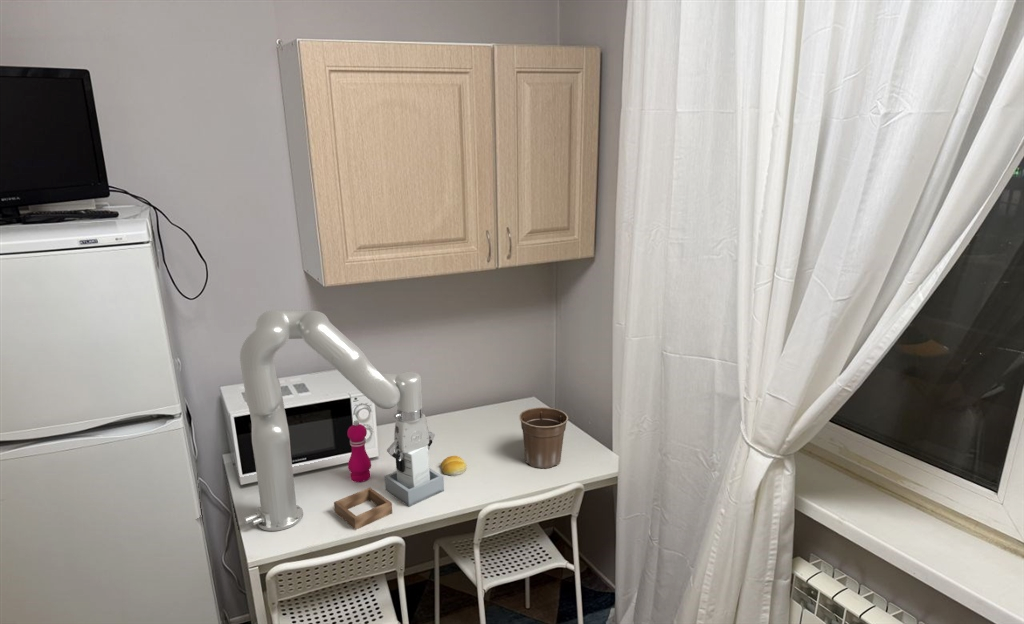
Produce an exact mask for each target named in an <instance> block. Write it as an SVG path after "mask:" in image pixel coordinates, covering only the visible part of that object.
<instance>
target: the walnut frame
mask: <svg viewBox="0 0 1024 624" xmlns="http://www.w3.org/2000/svg"><path fill="white" fill-rule="evenodd" d="M368 501H370V502H371V503H373V504H374V505H376V507H374V508H372V509H369V510H367V511H364V512H362V513H360V514H358V515H356V514H354V513H353V512H352V511H351V510H350V509H352V508H354V507H357V506H359V505H362V504H363V503H366V502H368ZM392 503H393V502H391V501H390V500H389V499H387V498H386V497H385V496H383V495H381V494H380V492H377V491H376V490H375V489H373V488H371V487H368V488H365V489H362V490H360V491H358V492H355V493H352V494H351V495H347V496H346V497H343V498H341V499H340V498H339V499H337V500H336V501H333V507H334V514H336V515H337V516H338V517H340V519H342V520H343V521H344V522H346V523H347V524H348V525H349V526H350V527H352V529H354V530H355V531H356V530H359V529H361V528H363V527H365V526H367V525H370V524H373V523H374V522H377V521H379V520H381V519H383V518H385V517H388V516H389V515H392V514H393V504H392Z"/></svg>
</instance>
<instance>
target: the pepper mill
mask: <svg viewBox="0 0 1024 624" xmlns="http://www.w3.org/2000/svg"><path fill="white" fill-rule="evenodd" d="M367 433H368V431H367V428H366V427H365V425H363V424H361V423H360V421H359V420H353V424H351V426H349V427H348V429H347V435H346V436H347V437H348V439H349V445H350V446H351V454H350V457H349V460H348V463H347V465H348V466H347V469H348V471H350V480H351V481H352V482H354V483H363V482H367V481H368V480H369V479H370V478H371V471H370V469H371V467H372V462H371V459H370V457H369V454H368V452H367V451H366V447H365V446H366V445H365V444H366V443H367V441H366V436H367Z"/></svg>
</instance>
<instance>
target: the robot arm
mask: <svg viewBox="0 0 1024 624" xmlns="http://www.w3.org/2000/svg"><path fill="white" fill-rule="evenodd" d="M289 340H303V341H304V343H305V344H307V345H308V346H309V347H310V348H311V349H312V350H313V351H314V352H315V353H317V355H319V356H321V358H323V359H324V360H325V361H327V362H328V363H329V364H330V365H331V366H332V367H334V369H336V370H337V371H338V372H339V373H340V374H341V375H342V376H343V377H344V378H345V379H346V380H347V381H348V382H350V383H351V385H352V386H354V387H355V388H356V389H357V391H359V392H360V393H361V394H362V395H364V397H366V398H367V399H368V400H370V402H371V403H373V404H374V405H375V406H377V407H378V408H381V409H382V410H383V409H384V410H391V409H393V408H395V407H396V413H395V414H393V417H394V419H395V423H394V434H393V435H394V437H393V440H394V441H393V442H392V443H391V444H390V446H389V447H387V449H386V453H388V454H389V455H390V457H392V458H394V459H395V469H396V468H397V470H399V471H401V472H402V473H403V472H404V460H403V459H402V458H403V456H404V454H406V453H409V452H412V451H414V450H417V449H419V448H422V447H425V446H427V445H428V451H430V449H431V445H432V443H433V440H434V438H435V436H436V434H435V433H434V432H432V431H429V425H428V421H427V417H426V414H425V413H423V411H424V409H423V392H422V391H423V390H422V389H423V388H422V377H421V374H419V373H418V372H415V371H406V372H405V371H404V372H402V373H381V372H380V371H379V370H378V369H376V367H375V366H374V365H373V364H372V363H371V362H370V360H369V358H368V357H367V356H366V354H365V353H364V352H363V351H362V350H361V349H360V347H359V346H358V345H356V344H355V343H354V342H353V341H351V340H350V339H349V338H348V337H347V336H346V335H345V334H343V332H341V330H339V329H338V328H337V327H336V326H334V324H332V322H331V321H330V320H329V318H328V317H327V316H326V314H325V313H323V312H321V311H317V310H307V309H305V310H303V309H302V310H296V309H295V310H293V309H291V310H290V309H289V310H287V309H286V310H283V309H282V310H281V309H275V310H273V309H272V310H268V311H266V312H263V313H262V314H261V315H259V316H258V318H257V319H256V323H255V329H254V331H252V332H251V333H250V334H248V336H247V337H246V339H245V340H244V342H243V343H242V345H241V348H240V351H239V353H240V354H239V363H240V369H241V376H242V382H243V387H244V388H243V389H244V399H245V402H246V405H247V407H248V411H249V415H250V417H249V418H250V421H251V422H250V423H251V444H252V450H253V459H254V463H255V464H254V465H255V471H256V476H257V477H256V479H257V487H258V495H259V501H260V502H259V503H260V506H259V507H257V511H255V512H254V513H253V514H250V515H247V516H245V517H243V520H244V523H245V525H249V524H250V523H251V524H252V525H253V526H256V525H257V527H258V528H259V529H261V530H264V531H269V532H277V531H282V530H286V529H289V528H291V527H293V526H295V525H296V524H298V523H299V522H300V521H301V520H302V519H303V516H304V511H303V508H302V507H301V506H299V505H298V504H297V499H296V489H295V480H294V479H295V477H294V472H293V471H294V470H293V461H292V454H291V453H292V452H291V440H290V439H291V438H290V430H289V424H288V420H287V414H286V410H285V409H286V408H285V403H284V398H283V393H282V387H281V382H280V380H279V378H278V377H277V372H276V371H277V370H276V363H275V355H276V354H277V352H278V351H280V349H282V348H283V347H284V346H285V345H286V344H287V342H288V341H289ZM395 448H396V449H397V450H396V452H395ZM399 451H400V452H401V453H400V455H399ZM397 470H396V471H397Z"/></svg>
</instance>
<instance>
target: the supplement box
mask: <svg viewBox="0 0 1024 624" xmlns="http://www.w3.org/2000/svg"><path fill="white" fill-rule="evenodd" d="M396 450H397V449H396V448H395V449H394V452H396ZM400 453H401V452H400V451H399V455H400ZM402 459H403V460H404V472H403V473H402V472H401V471H399V470H397V468H396V467H395V469H396V471H397V482H399V483H400V484H402V485H403V486H405V487H406V488H408V489H411V488H413V487H416V486H418V485H420V484H423V483H425V482H427V481H429V480H430V473H429V468H430V459H429V450H428V445H427V446H425V447H422V448H419V449H417V450H414V451H412V452H409V453H406V454H404V456H403V458H402Z"/></svg>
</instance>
